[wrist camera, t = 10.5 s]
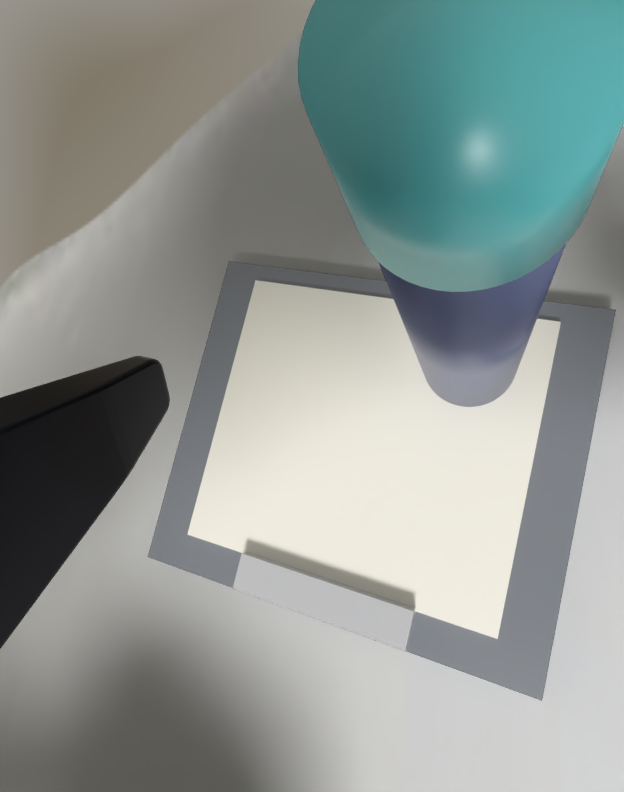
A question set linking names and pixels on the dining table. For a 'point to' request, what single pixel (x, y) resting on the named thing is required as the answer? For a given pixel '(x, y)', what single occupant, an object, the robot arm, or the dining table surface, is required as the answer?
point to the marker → (466, 158)
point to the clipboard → (384, 473)
